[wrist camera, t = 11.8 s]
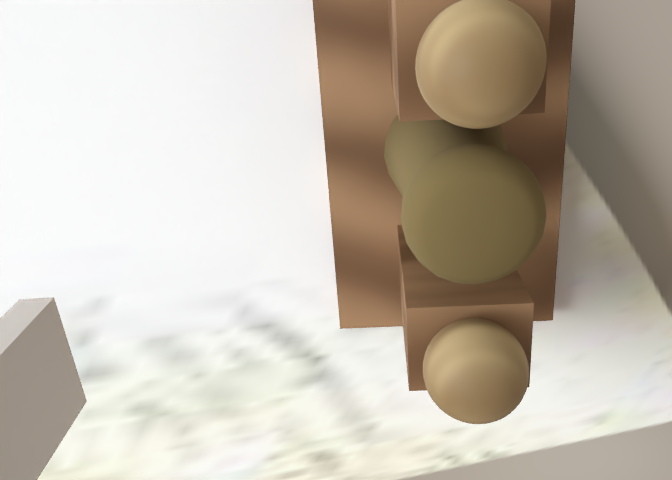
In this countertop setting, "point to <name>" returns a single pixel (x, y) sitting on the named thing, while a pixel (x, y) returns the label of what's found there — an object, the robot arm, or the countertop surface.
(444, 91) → the wooden peg board
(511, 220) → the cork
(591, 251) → the countertop surface
